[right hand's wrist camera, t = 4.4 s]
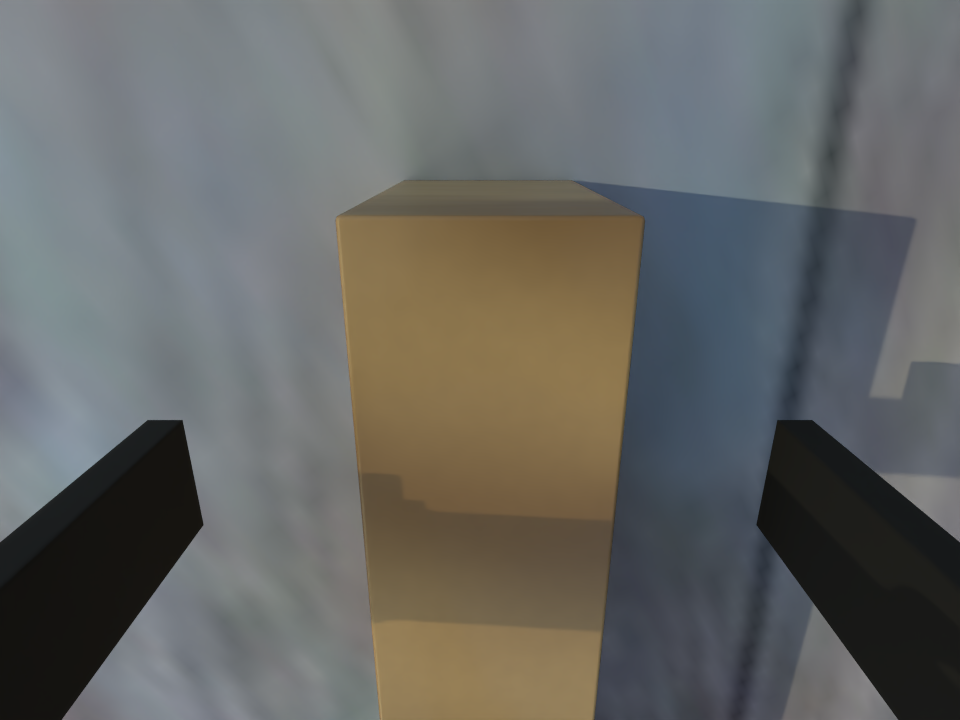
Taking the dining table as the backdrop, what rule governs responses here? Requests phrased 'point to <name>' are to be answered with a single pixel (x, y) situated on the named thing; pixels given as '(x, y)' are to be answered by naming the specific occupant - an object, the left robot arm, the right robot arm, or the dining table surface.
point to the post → (488, 437)
